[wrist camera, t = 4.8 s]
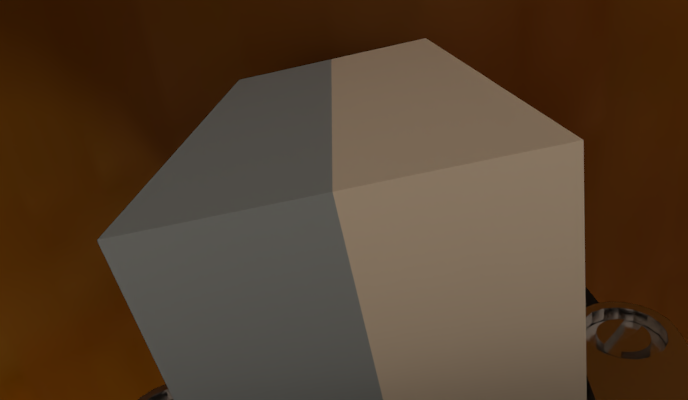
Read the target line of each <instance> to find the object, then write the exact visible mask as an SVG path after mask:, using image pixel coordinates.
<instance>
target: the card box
mask: <svg viewBox="0 0 688 400" xmlns="http://www.w3.org/2000/svg"><path fill="white" fill-rule="evenodd" d="M97 242H98V244H99V246H100V248H101V250H102V252H103V254H104V256H105V258H106V260H107V262H108V264H109V267H110V269H111V271H112V273H113V275H114V277H115V279H116V281H117V283H118V285H119V287H120V289H121V291H122V294H123V296H124V298H125V300H126V302H127V304H128V306H129V308H130V310H131V312H132V314H133V316H134V319H135V321H136V323H137V325H138V327H139V329H140V331H141V333H142V335H143V337H144V339H145V341H146V343H147V346H148V348H149V350H150V352H151V354H152V356H153V358H154V360H155V362H156V364H157V366H158V368H159V371H160V373H161V375H162V377H163V379H164V381H165V383H166V385H167V387H168V389H169V391H170V393H171V395H172V398H173V400H587V380H586V297H585V215H584V140H583V139H581V138H580V137H578V136H577V135H575V134H573V133H572V132H570V131H569V130H567V129H566V128H564V127H563V126H561V125H560V124H558V123H556V122H555V121H553V120H552V119H550V118H549V117H547V116H546V115H544V114H543V113H541V112H539V111H538V110H536V109H535V108H533V107H532V106H530V105H529V104H527V103H525V102H524V101H522V100H521V99H519V98H518V97H516V96H515V95H513V94H512V93H510V92H508V91H507V90H505V89H504V88H502V87H501V86H499V85H498V84H496V83H495V82H493V81H491V80H490V79H488V78H487V77H485V76H484V75H482V74H481V73H479V72H477V71H476V70H474V69H473V68H471V67H470V66H468V65H467V64H465V63H464V62H462V61H460V60H459V59H457V58H456V57H454V56H453V55H451V54H450V53H448V52H447V51H445V50H443V49H442V48H440V47H439V46H437V45H436V44H434V43H433V42H431V41H430V40H428V39H426V38H424V39H419V40H415V41H411V42H406V43H402V44H397V45H393V46H388V47H384V48H379V49H375V50H370V51H366V52H361V53H357V54H352V55H348V56H343V57H339V58H334V59H330V60H325V61H321V62H317V63H312V64H308V65H303V66H299V67H294V68H290V69H285V70H281V71H276V72H272V73H267V74H263V75H258V76H254V77H249V78H245V79H240V80H238V82H237V83H236V84H235V85H234V86H233V87H232V88H231V89H230V91H229V92H228V93H227V94H226V95H225V96H224V97H223V99H222V100H221V101H220V102H219V103H218V104H217V105H216V106H215V108H214V109H213V110H212V111H211V112H210V113H209V114H208V115H207V117H206V118H205V119H204V120H203V121H202V122H201V123H200V124H199V126H198V127H197V128H196V129H195V130H194V131H193V132H192V134H191V135H190V136H189V137H188V138H187V139H186V140H185V141H184V143H183V144H182V145H181V146H180V147H179V148H178V149H177V150H176V152H175V153H174V154H173V155H172V156H171V157H170V158H169V159H168V161H167V162H166V163H165V164H164V165H163V166H162V167H161V168H160V170H159V171H158V172H157V173H156V174H155V175H154V176H153V178H152V179H151V180H150V181H149V182H148V183H147V184H146V185H145V187H144V188H143V189H142V190H141V191H140V192H139V193H138V194H137V196H136V197H135V198H134V199H133V200H132V201H131V202H130V203H129V205H128V206H127V207H126V208H125V209H124V210H123V211H122V212H121V214H120V215H119V216H118V217H117V218H116V219H115V220H114V222H113V223H112V224H111V225H110V226H109V227H108V228H107V229H106V231H105V232H104V233H103V234H102V235H101V236H100V237H99V238H98V240H97Z"/></svg>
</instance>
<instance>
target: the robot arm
mask: <svg viewBox="0 0 688 400" xmlns="http://www.w3.org/2000/svg"><path fill="white" fill-rule="evenodd" d="M585 297H586V380H587V400H688V344H687V343H686V341H685V340H684V338H683V337H682V335H681V334H680V332H679V331H678V329H677V328H676V327H675V326H674V325H673V324H672V323H671V322H670V321H669V319H667V318H666V317H664V316H662V315H661V314H659V313H658V312H656V311H654V310H651V309H649V308H646V307H643V306H641V305H636V304H631V303H626V302H603V303H598V301H597V300H596V299H595V298H594V297H593V295H592V294H591V293H590V292H589V290H588V289H587V288H586V287H585ZM138 400H173V398H172V395H171V393H170V391H169V389H168V387H167V385H166V384H165V385H162V386H160V387H157V388H155V389H153V390H151V391H150V392H148V393H147V394H145V395H143V396H142V397H140V398H139V399H138Z"/></svg>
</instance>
